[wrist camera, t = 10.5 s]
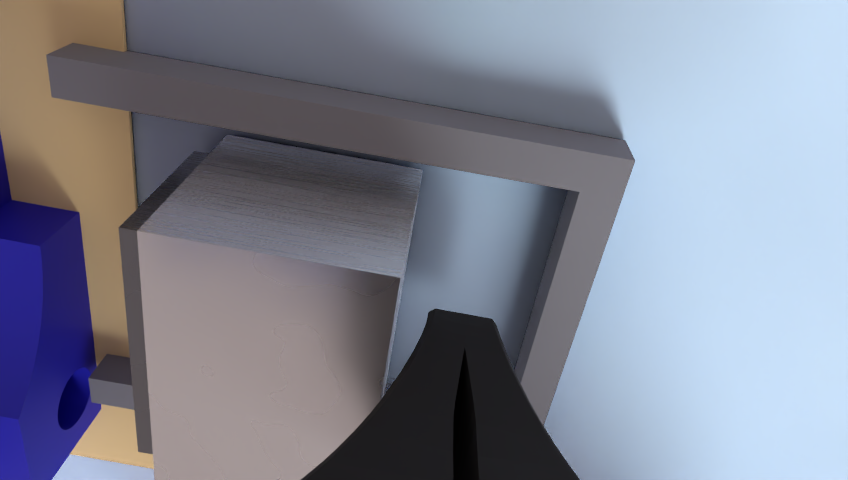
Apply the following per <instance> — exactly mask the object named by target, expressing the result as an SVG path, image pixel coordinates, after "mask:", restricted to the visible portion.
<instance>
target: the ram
mask: <svg viewBox="0 0 848 480" xmlns="http://www.w3.org/2000/svg"><path fill="white" fill-rule="evenodd" d="M422 172H423V170H422V169H416V168H411V167H405V166H399V165H394V164H388V163H383V162H377V161H372V160H366V159H360V158H355V157H349V156H344V155H338V154H333V153H327V152H321V151H316V150H310V149H305V148H299V147H293V146H288V145H282V144H277V143H271V142H266V141H260V140H254V139H249V138H243V137H238V136H232V135H226V136H225V138H224V139H223V140H222V141H221V142H220V143H219V144H218V145H217V146H216V147H215V148H214V149H213V150H212V151H211V152H210V154H206V153H201V152H195V151H194V152H193V153H192V154H191V155H190V156H189V157H188V158H187V159H186V160H185V161H184V162H183V163H182V164H181V165H180V166H179V167H178V168H177V169H176V170H175V171H174V172H173V173H172V174H171V175H170V176H169V177H168V178H167V179H166V180H165V181H164V182H163V183H162V184H161V185H160V186H159V187H158V188H157V189H156V190H155V191H154V192H153V193H152V194H151V195H150V196H149V197H148V198H147V199H146V200H145V201H144V202H143V203H142V204H141V205H140V206H139V208H138V209H137V210H136V211H135V212H134V213H133V214H132V215H131V216H130V217H129V218H128V219H127V220H126V221H125V222H124V223H123V224H122V225H121V226H120V227H119V239H120V251H121V262H122V274H123V285H124V297H125V308H126V319H127V331H128V342H129V354H130V365H131V377H132V388H133V400H134V411H135V423H136V434H137V446H138V452H142V453H147V454H153V463H154V477H155V480H301V479H302V478H303V477H305V476H306V475H307V474H308V473H309V472H311V471H312V470H313V469H314V468H315V467H317V466H318V465H319V464H320V463H322V462H323V461H324V460H325V459H326V458H327V457H328V456H329V455H330V454H331V453H333V452H334V451H335V450H336V449H337V448H338V447H339V446H340V445H341V444H342V443H343V442H344V441H345V440H346V439H347V438H348V437H349V436H350V435H351V434H352V433H353V432H354V431H355V429H356V428H357V427H358V426H359V425H360V424H361V423H362V422H363V421H364V419H365V418H366V417H367V416H368V415H369V414H370V413H371V411H372V410H373V409H374V408H375V407H376V405H377V404H378V403H379V402H380V400H381V399H382V398H383V396H384V394H385V388H386V383H387V377H388V371H389V365H390V359H391V353H392V347H393V342H394V336H395V330H396V324H397V318H398V312H399V307H400V301H401V295H402V289H403V283H404V277H405V271H406V266H407V260H408V254H409V248H410V242H411V236H412V231H413V225H414V219H415V213H416V207H417V201H418V195H419V190H420V184H421V178H422Z"/></svg>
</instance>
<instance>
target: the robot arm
mask: <svg viewBox="0 0 848 480" xmlns="http://www.w3.org/2000/svg"><path fill="white" fill-rule="evenodd" d="M301 480H580V479H579V478H578V477H577V475H576V474H575V473H574V471H573V470H572V469H571V467H570V466H569V464H568V463H567V461H566V460H565V459H564V457H563V456H562V454H561V453H560V451H559V450H558V448H557V447H556V445H555V444H554V442H553V441H552V439H551V438H550V436H549V434H548V433H547V431H546V429H545V428H544V426H543V424H542V423H541V421H540V419H539V418H538V416H537V414H536V412H535V411H534V409H533V407H532V405H531V403H530V401H529V400H528V398H527V396H526V394H525V392H524V390H523V388H522V386H521V384H520V382H519V380H518V378H517V375H516V373H515V371H514V369H513V367H512V364H511V362H510V360H509V357H508V355H507V353H506V350H505V348H504V345H503V343H502V340H501V337H500V335H499V332H498V329H497V326H496V324H495V322H494V321H493V320H492V319H490V318H484V317H479V316H473V315H467V314H462V313H456V312H451V311H445V310H440V309H434V310H432V311H430V312H429V313H428V318H427V322H426V325H425V328H424V331H423V333H422V335H421V337H420V339H419V341H418V343H417V345H416V347H415V349H414V351H413V353H412V354H411V356H410V358H409V359H408V361H407V363H406V364H405V366H404V368H403V369H402V371H401V372H400V374H399V375H398V377H397V378H396V380H395V381H394V382H393V384H392V385H391V387H390V388H389V389H388V391H387V392H386V394H385V395H384V396H383V398H382V399H381V400H380V402H379V403H378V404H377V405H376V407H375V408H374V409H373V410H372V411H371V413H370V414H369V415H368V416H367V417H366V418H365V419H364V421H363V422H362V423H361V424H360V425H359V426H358V427H357V428H356V429H355V431H354V432H353V433H352V434H351V435H350V436H349V437H348V438H347V439H346V440H345V441H344V442H343V443H342V444H341V445H340V446H339V447H338V448H337V449H336V450H335V451H334V452H333V453H331V454H330V455H329V456H328V457H327V458H326V459H325V460H324V461H323V462H322V463H320V464H319V465H318V466H317V467H315V468H314V469H313V470H312V471H311V472H309V473H308V474H307V475H306V476H305V477H303V478H302V479H301Z"/></svg>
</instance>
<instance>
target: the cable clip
mask: <svg viewBox="0 0 848 480" xmlns="http://www.w3.org/2000/svg"><path fill="white" fill-rule="evenodd" d="M96 367H97V364H96V356H95V347H94V338H93V329H92V320H91V311H90V303H89V294H88V285H87V276H86V267H85V258H84V249H83V241H82V232H81V223H80V214H79V212H75V211H70V210H65V209H59V208H54V207H48V206H43V205H37V204H32V203H26V202H21V201H16V200H12V198H11V192H10V186H9V180H8V174H7V168H6V162H5V156H4V150H3V145H2V139H1V133H0V480H52V479H53V477H54V476H55V474H56V473H57V471H58V470H59V469H60V467H61V466H62V464H63V463H64V461H65V460H66V459H67V457H68V456H69V454H70V453H71V452H72V450H73V449H74V447H75V446H76V444H77V443H78V442H79V440H80V439H81V437H82V436H83V434H84V433H85V432H86V430H87V429H88V427H89V426H90V425H91V423H92V422H93V420H94V419H95V417H96V416H97V415H98V413H99V412H100V410H101V404H98V403H92V402H91V394H90V387H89V379H88V378H89V377H90V375H91V374H92V373H93V371H94V370H95V369H96Z"/></svg>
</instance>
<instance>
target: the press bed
mask: <svg viewBox="0 0 848 480" xmlns="http://www.w3.org/2000/svg"><path fill="white" fill-rule="evenodd" d="M131 112H136V113H142V114H147V115H153V116H159V117H164V118H170V119H175V120H181V121H186V122H192V123H198V124H203V125H209V126H214V127H220V128H225V129H231V130H237V131H242V132H248V133H253V134H259V135H265V136H270V137H276V138H281V139H287V140H292V141H298V142H304V143H309V144H315V145H320V146H326V147H331V148H337V149H343V150H348V151H354V152H359V153H365V154H371V155H376V156H382V157H387V158H393V159H398V160H404V161H410V162H415V163H421V164H426V165H432V166H437V167H443V168H449V169H454V170H460V171H465V172H471V173H477V174H482V175H488V176H493V177H499V178H504V179H510V180H516V181H521V182H527V183H532V184H538V185H543V186H549V187H555V188H560V189H566V190H568V191H567V195H566V198H565V201H564V205H563V208H562V211H561V215H560V218H559V221H558V225H557V228H556V232H555V235H554V238H553V242H552V245H551V248H550V252H549V255H548V258H547V262H546V265H545V269H544V272H543V275H542V279H541V282H540V285H539V289H538V292H537V296H536V299H535V302H534V306H533V309H532V312H531V316H530V319H529V322H528V326H527V329H526V333H525V336H524V339H523V343H522V346H521V349H520V353H519V356H518V359H517V363H516V366H515V370H514V371H515V373H516V375H517V378H518V380H519V382H520V384H521V386H522V388H523V390H524V392H525V394H526V396H527V398H528V400H529V401H530V403H531V405H532V407H533V409H534V411H535V412H536V414H537V416H538V418H539V419H540V421H541V423H542V424H543V426H544V423H545V420H546V417H547V414H548V411H549V408H550V405H551V402H552V400H553V397H554V394H555V391H556V388H557V385H558V382H559V379H560V376H561V374H562V371H563V368H564V365H565V362H566V359H567V356H568V353H569V350H570V348H571V345H572V342H573V339H574V336H575V333H576V330H577V327H578V324H579V321H580V319H581V316H582V313H583V310H584V307H585V304H586V301H587V298H588V295H589V293H590V290H591V287H592V284H593V281H594V278H595V275H596V272H597V269H598V266H599V264H600V261H601V258H602V255H603V252H604V249H605V246H606V243H607V240H608V238H609V235H610V232H611V229H612V226H613V223H614V220H615V217H616V214H617V212H618V209H619V206H620V203H621V200H622V197H623V194H624V191H625V188H626V185H627V183H628V180H629V177H630V174H631V171H632V168H633V165H634V162H635V159H634V157H633V155H632V153H631V151H630V149H629V147H628V145H627V143H626V141H625V140H620V139H615V138H609V137H604V136H598V135H593V134H587V133H581V132H576V131H570V130H565V129H559V128H554V127H548V126H542V125H537V124H531V123H526V122H520V121H515V120H509V119H504V118H498V117H492V116H487V115H481V114H476V113H470V112H465V111H459V110H454V109H448V108H442V107H437V106H431V105H426V104H420V103H415V102H409V101H404V100H398V99H392V98H387V97H381V96H376V95H370V94H365V93H359V92H353V91H348V90H342V89H337V88H331V87H326V86H320V85H315V84H309V83H303V82H298V81H292V80H287V79H281V78H276V77H270V76H265V75H259V74H253V73H248V72H242V71H237V70H231V69H226V68H220V67H215V66H209V65H203V64H198V63H192V62H187V61H181V60H176V59H170V58H164V57H159V56H153V55H148V54H142V53H137V52H131V51H127V45H126V31H125V17H124V2H123V0H0V133H1V139H2V145H3V150H4V156H5V162H6V168H7V174H8V180H9V186H10V192H11V198H12V200H16V201H21V202H26V203H32V204H37V205H43V206H48V207H54V208H59V209H65V210H70V211H75V212H79V214H80V223H81V232H82V241H83V249H84V258H85V267H86V276H87V285H88V294H89V303H90V311H91V320H92V329H93V338H94V347H95V356H96V364H97V367H96V369H95V370H94V371H93V373H92V374H91V375H90V377H89V378H88V379H89V387H90V394H91V402H92V403H98V404H101V410H100V412H99V413H98V415H97V416H96V417H95V419H94V420H93V422H92V423H91V425H90V426H89V427H88V429H87V430H86V432H85V433H84V434H83V436H82V437H81V439H80V440H79V442H78V443H77V444H76V446H75V447H74V449H73V450H72V452H71V453H70V454H72V455H78V456H84V457H89V458H95V459H101V460H106V461H112V462H118V463H123V464H129V465H135V466H141V467H146V468H152V469H154V463H153V454H147V453H142V452H138V446H137V434H136V423H135V411H134V400H133V388H132V377H131V365H130V354H129V342H128V331H127V319H126V308H125V297H124V285H123V274H122V262H121V251H120V239H119V227H120V226H121V225H122V224H123V223H124V222H125V221H126V220H127V219H128V218H129V217H130V216H131V215H132V214H133V213H134V212H135V211H136V210H137V209H138V205H137V190H136V176H135V161H134V147H133V132H132V118H131Z"/></svg>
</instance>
